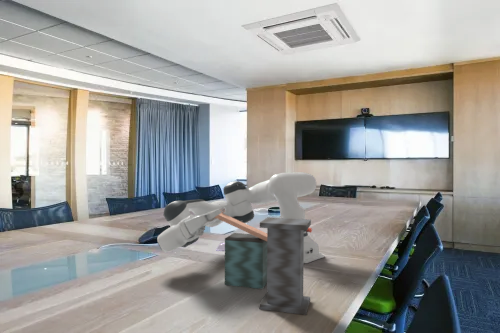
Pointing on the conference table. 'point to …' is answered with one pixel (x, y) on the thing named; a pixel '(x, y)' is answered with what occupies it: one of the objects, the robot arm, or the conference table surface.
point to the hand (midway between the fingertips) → (222, 210)
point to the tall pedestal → (285, 265)
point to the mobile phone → (221, 247)
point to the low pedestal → (245, 261)
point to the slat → (242, 226)
